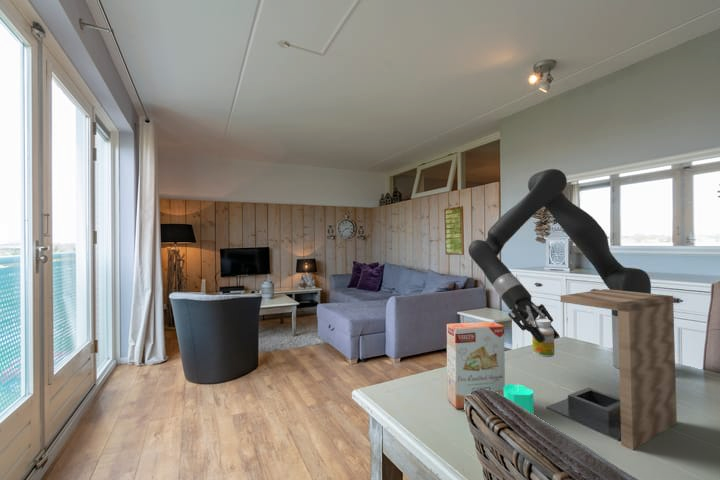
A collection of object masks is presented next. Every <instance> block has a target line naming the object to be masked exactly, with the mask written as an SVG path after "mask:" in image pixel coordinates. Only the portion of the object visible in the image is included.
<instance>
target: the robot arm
mask: <svg viewBox="0 0 720 480" xmlns="http://www.w3.org/2000/svg"><path fill="white" fill-rule="evenodd" d="M567 183H568V179H567V176H566V174H565V173H564V172H563V171H561V170H560V169H556V168H550V169H545V170H542V171H540V172H536V173H534V174H533V175H531V177H530V178H529V180H528V182H527V187H528V191H529V192H528V193H527V194H526V195H525V196H524V197H523V198H522V199H521V200H520V201H518V202H517V203H516V204H515V205H514V206H513V207H511V208H510V209H509V210H508V211H506V212H505V213H504V214H503V215H502V216H500V217H499V219H498V220H497V221H495V223H494V224H493V225H492V226H491V227H490V228H489V229H488V231H487V238H486V239H485V240H483V239H475V240H473V241H472V242H471V243H470V244H469V245H468V254H469V257H471V259H472V260H473V261H474V263H475V264H477V265H476V266H478V267H479V268H480V269H481V271H483V273H484V275H485V277H486V279H487V280H488V281H489V283H490V284H491V286H492V287H493V288H494V291H495V292H496V293H497V295H498V296H499V297H500V298H501V300H502V301H503V303H504V304H505V305H506V307H507V308H508V309H509V310H510V312H508V313H507V315H508V317H509V318H510V319H511V320H512V321H513V322H514V324H516V325H517V327H519V329H521V331H527V332H529V333H530V334H531V335H533V336H532V338H533V337H534V338H535V339H536V340H537V341H538V342H539V343H541V342H543V341H544V340H545V337H544V336H543V334H542V333H541V332H540V331H539V329H538V328H537V327H535V326H536V325H535V319H539V318H541V319H548V320H550V321H551V323H553V322H554V319H553V316H552V315H551V314H550V313H549V311H548V309H547V308H546V307H545V305H544V304H542V303H541V304H539V305H537V304H535V303H534V302H533V301H532V294H531V293H530V292H529V291H528V290H527V288H526V287H525V286H524V285H523V284H522V283H521V281H520V280H519V279H518V277H516V276H515V275H514V274H513V273H512V272H511V271H510V269H509V268H508V267H507V265H505V264H504V262H503V261H502V260H501V259H500V258H499V257H498V256H499V254H500V253H501V251H502V249H503V248H504V246H505V245H506V244H507V242H508V241H510V239H511V238H512V237H513V236H514V235H515V234H516V233H518V231H519V230H520V229H521V228H522V227H523V226H524V225H525V224H526V223H527V221H529V220H530V219H531V218H532V217H533V216H534V215H535V214H536V213H537V212H538V211H540V210H541V209H542V208H543V207H544V208H545V210H547V211H548V212H549V213H550V215H551V216H552V217H553V218H554V219H555V221H556V223H557V224H558V225H559V227H560V228H561V229H562V231H564V232H565V233H566V235H567V236H568V238H569V239H570V240H571V241H572V242H573V243H574V245H575V246H576V247H577V248H578V249H579V250H580V252H581V253H582V254H583V255H584V256H585V258H586V259H587V260H588V262H589V263H591V265H592V266H593V268H594V269H595V271H596V272H597V274H598V276H600V279H601V280H602V281H603V283H604V284H605V286H606V288H608V289H610V290H620V291H629V292H639V293H649V294H652V283H651V278H650V276H649V274H648V273H647V272H646V271H645V270H643V269H641V268H635V267H625V266H624V265H622V264H621V263H620V262H619V261H618V260H617V259H616V258H615V256H614V255H613V253H612V252H611V249H610V247H609V245H610V244H609V238H608V236H607V233H606V231H605V230H604V229H603V228H602V226H601V225H600V223H598V222H597V220H596V219H595V218H594V217H593V216H591V214H589V213H588V212H586V211H585V210H583V209H582V208H581V207H579V206H578V205H576V204H574V203H573V202H572V201H570V200H569V198H567V196H565V194H564V193H563V192H564V190H565V189H566V187H567ZM550 328H552V329H553V330H554V340H556V339H557V338H559V337H560V335H559V332H557V331H556V329H555V328H554V327H553V325H552V324H551V326H550ZM611 335H612V365H613V367H614V368H617V369H619V339H618V310H611Z"/></svg>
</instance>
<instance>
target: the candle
mask: <svg viewBox="0 0 720 480" xmlns="http://www.w3.org/2000/svg"><path fill="white" fill-rule="evenodd" d="M504 397H506V398H507V399H509V400H511V401H513V402H515V403H516V404H518V405H519V406H521V407H522V408H524V409H526V410H527V411H529V412H530V413H532V414H534V413H535V412H534V411H535V409H534V390H533V389H530V388H528V387H526V386H525V385H523V384H512V383H507V384H505V386H504ZM534 415H535V414H534Z"/></svg>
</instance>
